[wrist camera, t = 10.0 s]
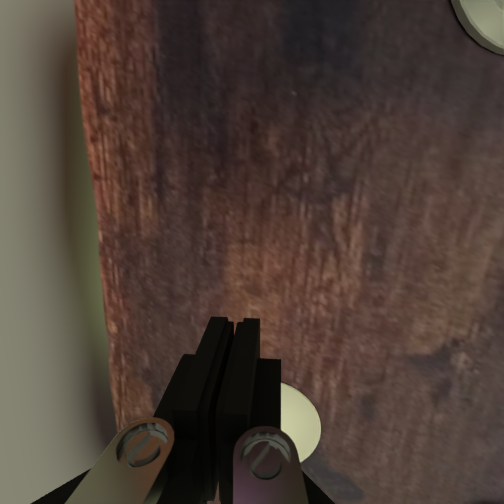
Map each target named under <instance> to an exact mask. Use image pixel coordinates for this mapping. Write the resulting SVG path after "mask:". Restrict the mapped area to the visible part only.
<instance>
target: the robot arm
mask: <svg viewBox="0 0 504 504" xmlns="http://www.w3.org/2000/svg"><path fill="white" fill-rule="evenodd" d="M451 2H452V5H453V7H454V10H455V12H456V15H457V17H458V20H459V21H460V23H461V24H462V25H463V27H464V28H465V30H466V31H467V33H468V34H469V35H470V36H471V37H472V38H473V39H475V40H476V41H477V42H478V43H479V44H480V45H481V46H483V47H485V48H487V49H489V50H491V51H493V52H495V53H497V54H501V55H504V0H451ZM218 481H219V500H220V502H221V504H335V503H334V502H333V501H332V500H331V499H330V498H329V497H328V496H327V495H326V494H325V493H324V492H323V491H322V490H321V489H320V488H319V487H318V486H317V485H316V484H315V483H314V482H313V481H312V480H311V479H310V478H309V477H308V476H307V475H306V474H305V473H304V472H303V471H302V469H301V465H300V460H299V455H298V451H297V449H296V446H295V443H294V442H293V441H292V439H291V438H290V437H289V435H287V434H286V433H285V432H283V431H282V430H281V359H264V358H260V319H256V318H244V320H243V322H238V323H237V326H236V330H235V334H234V323H233V322H228V318H227V317H211V318H210V320H209V323H208V325H207V328H206V330H205V332H204V335H203V337H202V339H201V342H200V344H199V347H198V349H197V351H196V354H195V355H193V354H184V355H183V356H182V358H181V360H180V362H179V364H178V366H177V368H176V370H175V372H174V374H173V376H172V378H171V381H170V383H169V385H168V387H167V389H166V391H165V393H164V395H163V397H162V399H161V401H160V403H159V406H158V408H157V410H156V412H155V414H154V416H153V417H149V418H143V419H139V420H137V421H135V422H132V423H130V424H129V425H127V426H126V427H125V428H123V429H122V430H121V431H120V432H119V433H118V434H117V435H116V437H115V438H114V439H113V440H112V442H111V443H110V444H109V446H108V447H107V448H106V450H105V451H104V452H103V453H102V455H101V456H100V457H99V459H98V461H96V463H95V464H94V466H93V467H92V468H91V469H89V470H87V471H86V472H84V473H82V474H81V475H79V476H77V477H76V478H74V479H72V480H70V481H69V482H67V483H65V484H63V485H62V486H60V487H59V488H57V489H55V490H53V491H52V492H50V493H48V494H46V495H45V496H43V497H41V498H40V499H38V500H36V501H35V502H33V503H31V504H207V501H214V499H215V495H216V490H217V485H218Z"/></svg>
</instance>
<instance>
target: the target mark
mask: <svg viewBox="0 0 504 504" xmlns="http://www.w3.org/2000/svg"><path fill="white" fill-rule="evenodd" d="M281 430H282V431H283V432H285V433H286V434H287V435H289V437H290V438H291V439H292V441H293V442H294V443H295V446H296V449H297V451H298V455H299V460H300V462H302V461H303V460H305V459H306V458H307V457H308V456H309V455H310V454H311V453H312V452H313V451H314V449H315V448H316V446H317V444H318V442H319V439H320V434H321V424H320V418H319V415H318V413H317V411H316V409H315V407H314V405H313V404H312V403H311V401H310V400H309V399H308V398H307V397H306V396H305V395H304V394H302V393H301V392H300V391H298V390H297V389H295V388H294V387H292V386H290V385H288V384H285V383H283V382H281Z"/></svg>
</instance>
